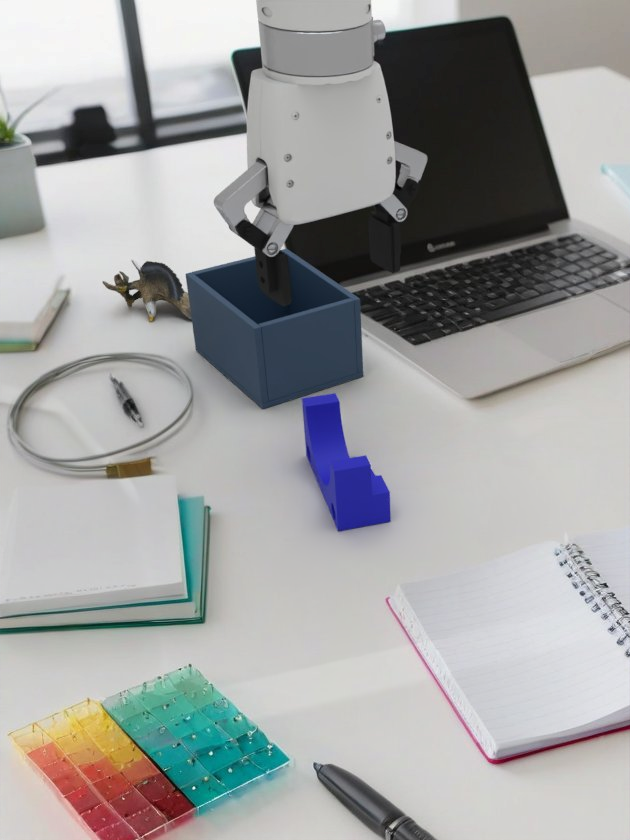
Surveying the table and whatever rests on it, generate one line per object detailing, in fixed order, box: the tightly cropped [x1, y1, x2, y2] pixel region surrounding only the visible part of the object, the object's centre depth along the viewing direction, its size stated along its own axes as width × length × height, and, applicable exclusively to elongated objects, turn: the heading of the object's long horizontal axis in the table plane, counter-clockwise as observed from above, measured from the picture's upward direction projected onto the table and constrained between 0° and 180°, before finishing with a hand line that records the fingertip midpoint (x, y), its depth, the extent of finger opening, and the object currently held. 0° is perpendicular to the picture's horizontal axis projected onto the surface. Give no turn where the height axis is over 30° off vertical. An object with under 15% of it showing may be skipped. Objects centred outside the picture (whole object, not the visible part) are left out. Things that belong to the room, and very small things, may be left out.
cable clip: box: [301, 392, 391, 532], centre depth 99 cm, size 12×4×6 cm, turn 21°
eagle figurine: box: [102, 259, 192, 323], centre depth 125 cm, size 8×7×9 cm
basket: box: [185, 248, 364, 410], centre depth 116 cm, size 11×14×9 cm
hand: (332, 282), depth 88 cm, fingers open, 9 cm apart
